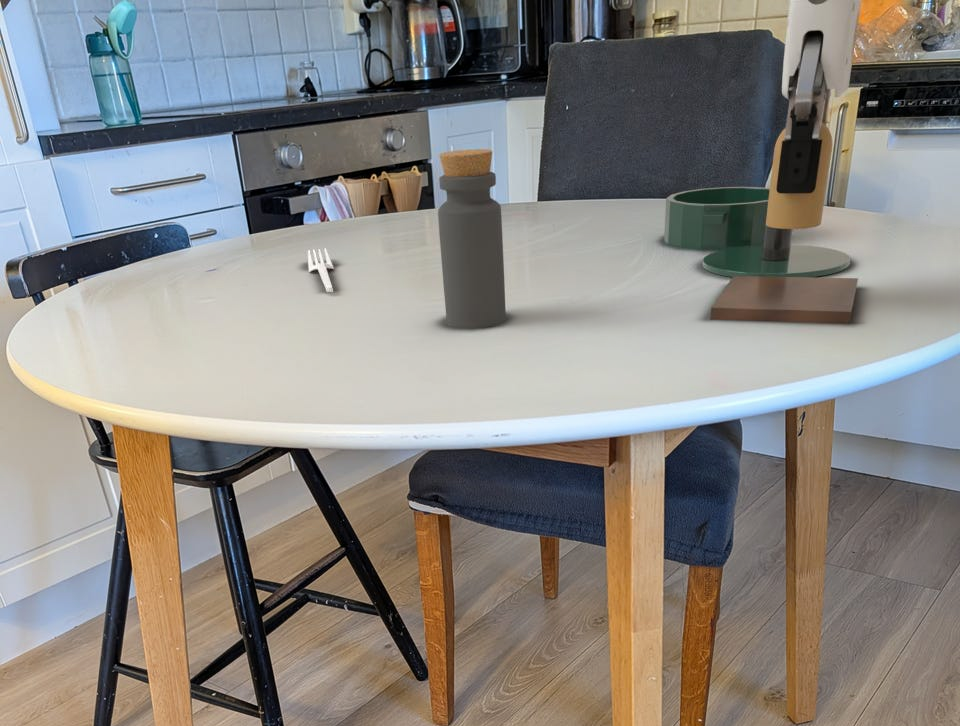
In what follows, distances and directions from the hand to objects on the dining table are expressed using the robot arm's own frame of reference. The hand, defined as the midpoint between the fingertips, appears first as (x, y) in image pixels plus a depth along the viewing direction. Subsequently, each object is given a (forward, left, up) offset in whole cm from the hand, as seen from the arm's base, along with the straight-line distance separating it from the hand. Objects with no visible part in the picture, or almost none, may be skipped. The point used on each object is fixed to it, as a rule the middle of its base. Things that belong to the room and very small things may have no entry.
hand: (798, 185), depth 78 cm
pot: (+11, -32, -11) cm, 35 cm away
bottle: (+28, +10, -11) cm, 32 cm away
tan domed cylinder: (0, 0, -3) cm, 3 cm away
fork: (+56, -8, -11) cm, 57 cm away
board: (0, 0, -11) cm, 11 cm away
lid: (+3, -17, -10) cm, 20 cm away
